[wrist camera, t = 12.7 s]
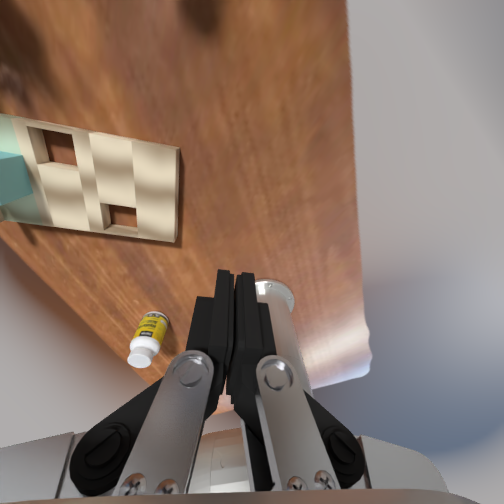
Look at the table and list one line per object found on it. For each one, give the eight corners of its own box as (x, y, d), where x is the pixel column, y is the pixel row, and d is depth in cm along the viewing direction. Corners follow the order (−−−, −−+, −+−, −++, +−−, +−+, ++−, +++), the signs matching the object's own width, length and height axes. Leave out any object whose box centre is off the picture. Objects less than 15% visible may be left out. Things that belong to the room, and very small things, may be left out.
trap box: (177, 235, 39) (169, 252, 34) (10, 213, 35) (-24, 228, 30) (179, 147, 32) (170, 152, 27) (-29, 107, 28) (-81, 106, 23)
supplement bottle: (162, 308, 47) (147, 349, 39) (173, 325, 50) (160, 367, 41) (138, 313, 47) (117, 355, 39) (149, 330, 50) (132, 373, 42)
